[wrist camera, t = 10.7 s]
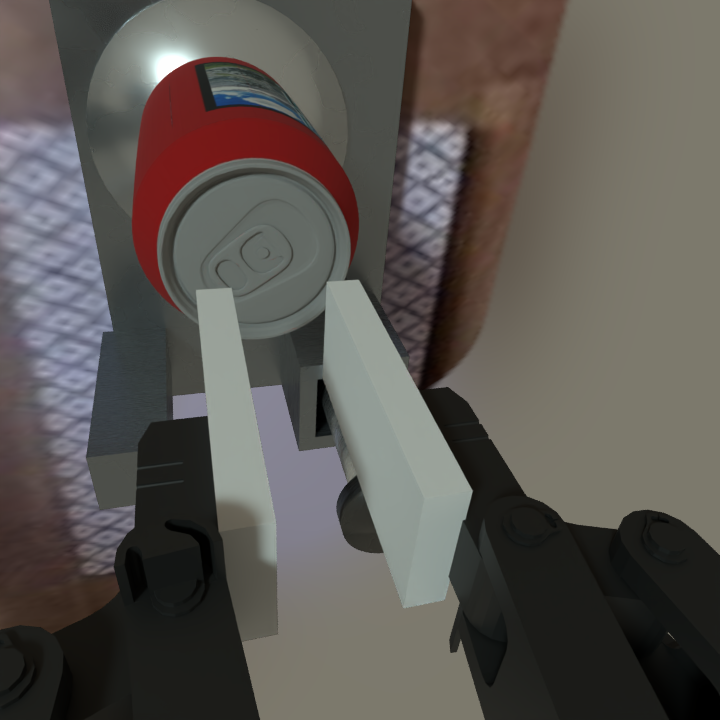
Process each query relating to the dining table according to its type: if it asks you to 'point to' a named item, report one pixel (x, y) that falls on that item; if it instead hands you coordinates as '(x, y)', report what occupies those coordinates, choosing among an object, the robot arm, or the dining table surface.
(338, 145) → the press
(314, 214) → the beverage can
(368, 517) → the plunger
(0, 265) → the dining table surface
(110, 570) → the dining table surface
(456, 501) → the robot arm
